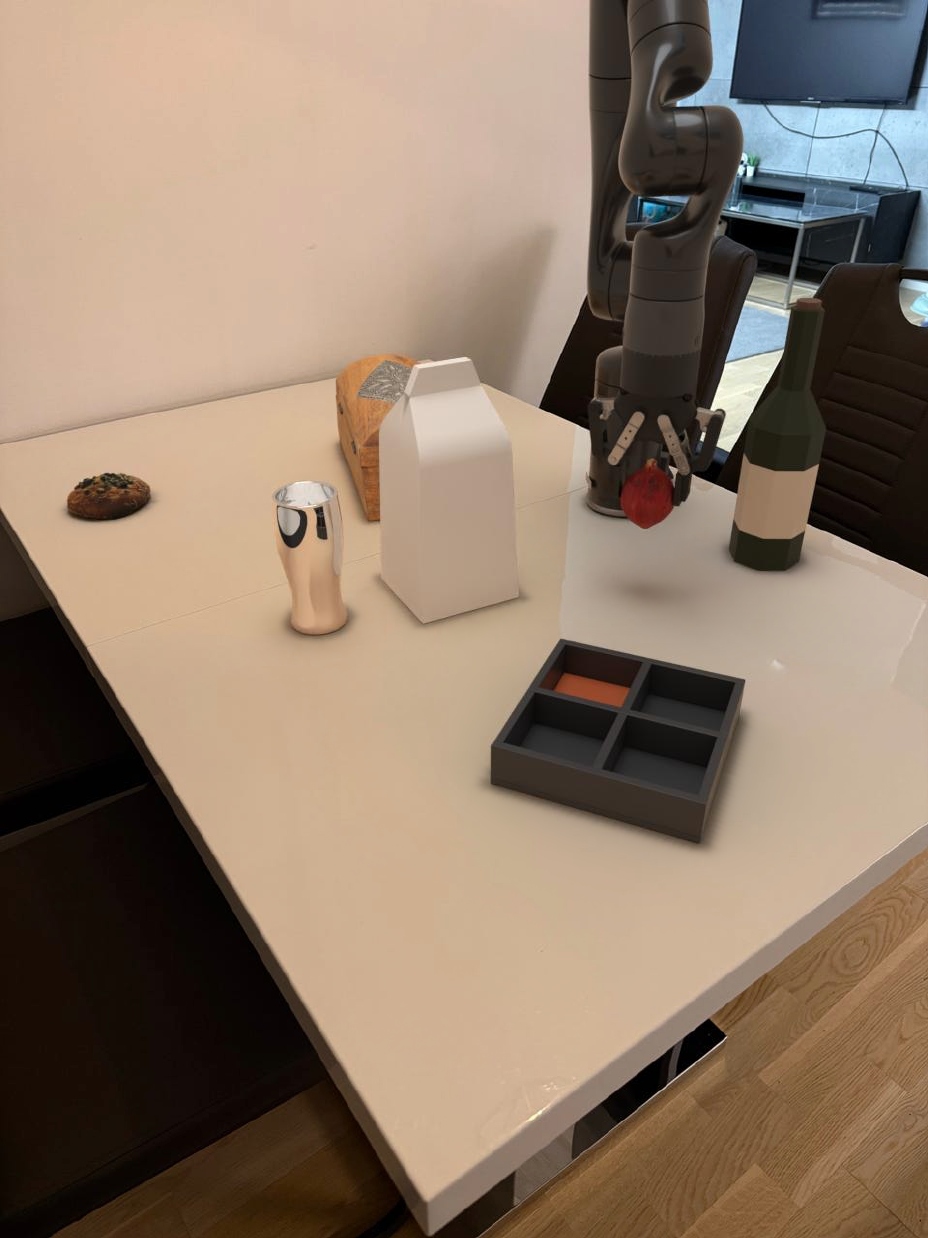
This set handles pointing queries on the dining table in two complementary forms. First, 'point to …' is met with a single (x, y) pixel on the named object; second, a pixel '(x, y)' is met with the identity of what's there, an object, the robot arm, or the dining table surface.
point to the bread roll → (108, 496)
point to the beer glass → (311, 553)
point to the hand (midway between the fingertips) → (647, 498)
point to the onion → (647, 495)
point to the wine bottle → (781, 454)
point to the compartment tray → (621, 737)
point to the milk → (447, 495)
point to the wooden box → (368, 418)
